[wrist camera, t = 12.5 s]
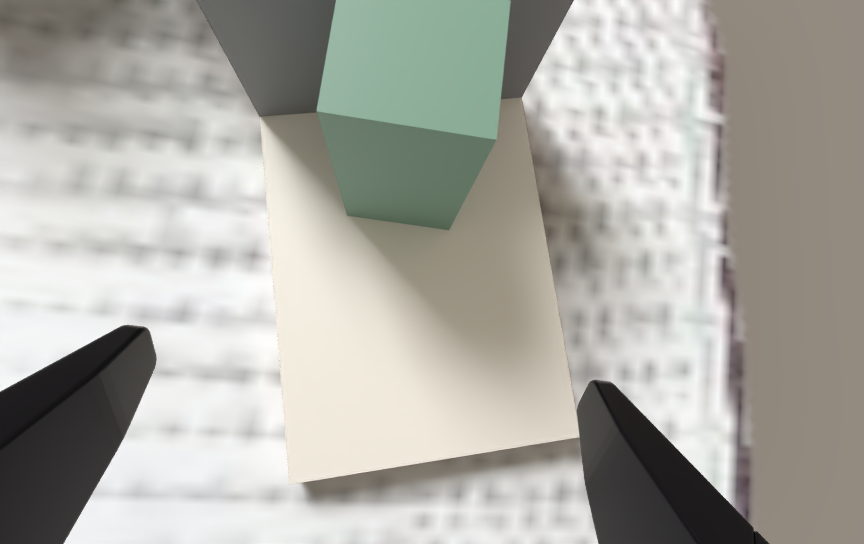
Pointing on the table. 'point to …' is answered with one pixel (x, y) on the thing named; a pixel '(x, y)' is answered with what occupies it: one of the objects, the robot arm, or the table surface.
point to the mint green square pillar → (412, 104)
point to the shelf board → (401, 272)
